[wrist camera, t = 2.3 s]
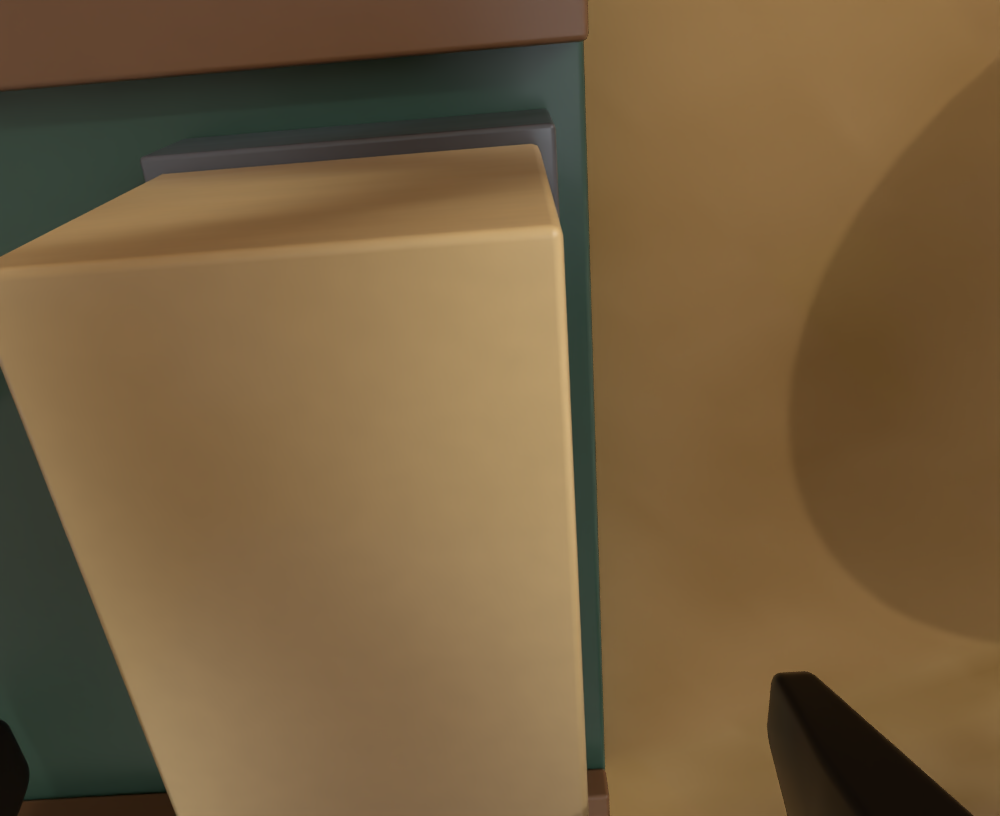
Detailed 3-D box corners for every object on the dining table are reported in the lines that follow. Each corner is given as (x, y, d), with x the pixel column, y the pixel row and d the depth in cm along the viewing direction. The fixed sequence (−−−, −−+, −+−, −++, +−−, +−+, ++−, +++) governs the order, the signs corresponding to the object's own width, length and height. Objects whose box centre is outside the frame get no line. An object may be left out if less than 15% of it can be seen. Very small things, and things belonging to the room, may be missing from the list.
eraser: (548, 107, 11) (589, 196, 6) (579, 740, 16) (614, 1062, 11) (181, 138, 11) (-79, 249, 6) (333, 754, 16) (260, 1077, 11)
